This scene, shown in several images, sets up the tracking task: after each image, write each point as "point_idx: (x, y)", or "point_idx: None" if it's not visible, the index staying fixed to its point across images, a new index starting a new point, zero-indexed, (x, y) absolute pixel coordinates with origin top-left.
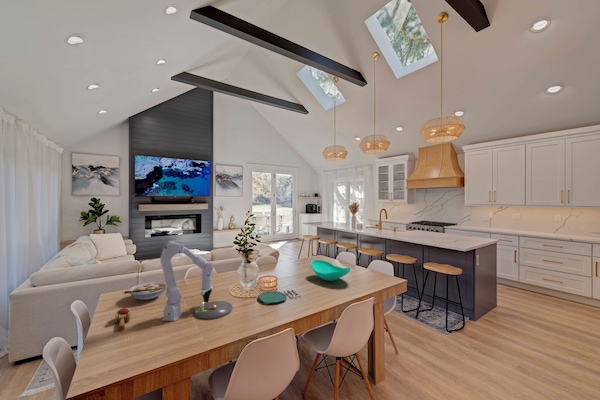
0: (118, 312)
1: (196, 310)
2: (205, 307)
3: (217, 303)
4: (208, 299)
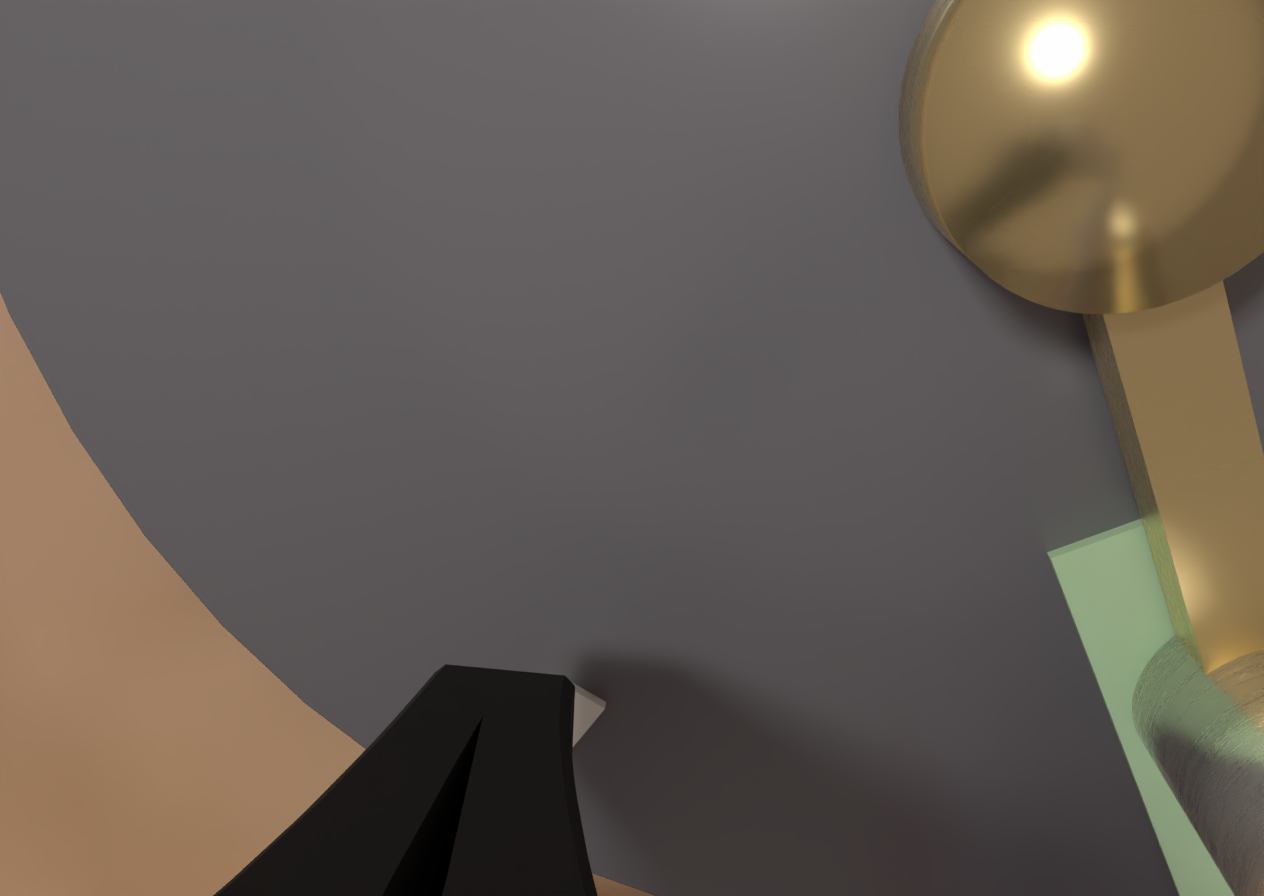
0: None
1: (1141, 886)
2: (861, 606)
3: (313, 54)
4: (490, 755)
